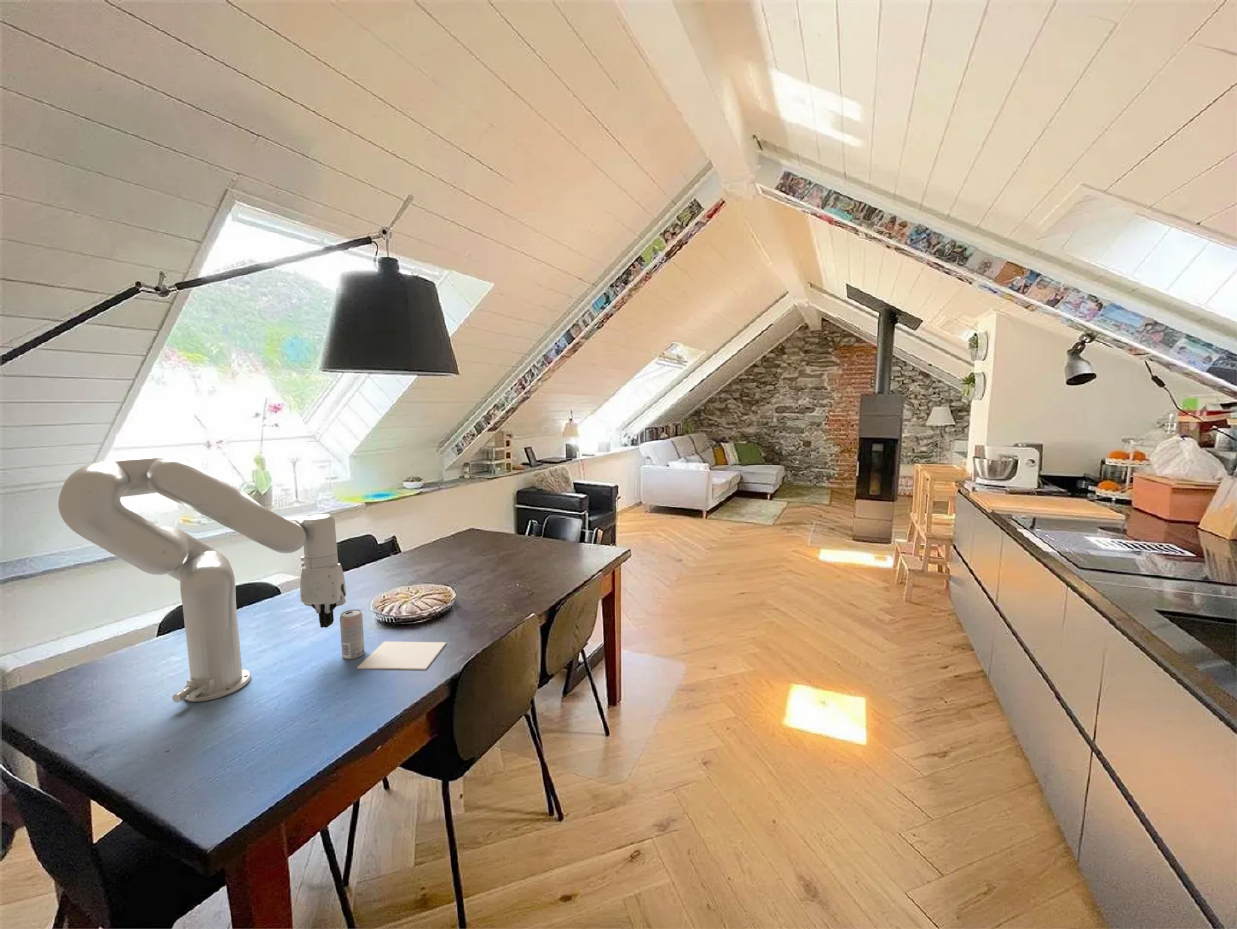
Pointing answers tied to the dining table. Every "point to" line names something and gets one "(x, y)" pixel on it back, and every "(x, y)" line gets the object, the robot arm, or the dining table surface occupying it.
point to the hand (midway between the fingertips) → (326, 625)
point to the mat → (403, 655)
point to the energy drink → (352, 634)
